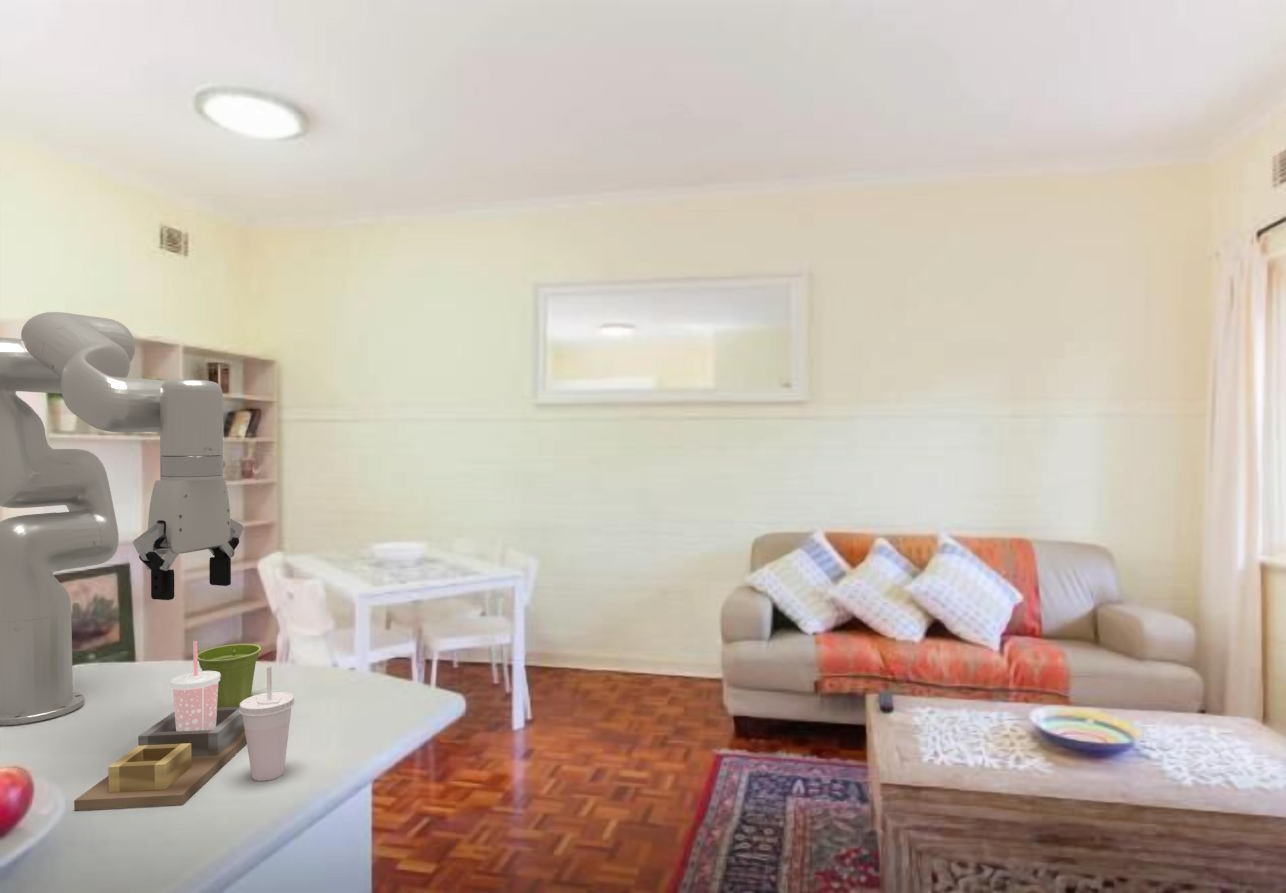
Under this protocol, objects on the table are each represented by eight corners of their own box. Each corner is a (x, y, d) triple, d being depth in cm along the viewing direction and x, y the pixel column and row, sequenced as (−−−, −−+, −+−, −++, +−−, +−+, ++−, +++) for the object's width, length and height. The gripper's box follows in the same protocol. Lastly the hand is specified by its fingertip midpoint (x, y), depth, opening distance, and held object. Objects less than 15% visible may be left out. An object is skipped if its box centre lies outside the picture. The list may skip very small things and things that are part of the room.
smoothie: (258, 790, 94) (257, 676, 94) (229, 778, 97) (228, 668, 97) (305, 770, 99) (304, 663, 99) (276, 760, 102) (275, 656, 102)
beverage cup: (213, 729, 110) (212, 633, 110) (227, 740, 106) (226, 640, 106) (164, 741, 106) (163, 641, 106) (178, 753, 102) (177, 649, 102)
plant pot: (266, 706, 123) (265, 652, 123) (199, 718, 118) (198, 663, 118) (257, 690, 131) (256, 640, 131) (194, 702, 126) (193, 649, 126)
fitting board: (171, 737, 111) (171, 708, 111) (257, 733, 112) (257, 704, 112) (74, 810, 89) (73, 774, 89) (182, 804, 90) (182, 769, 90)
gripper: (218, 466, 115) (219, 579, 115) (113, 471, 98) (114, 603, 98) (260, 466, 113) (261, 581, 113) (160, 472, 96) (161, 607, 97)
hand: (192, 591), depth 106 cm, fingers open, 9 cm apart
